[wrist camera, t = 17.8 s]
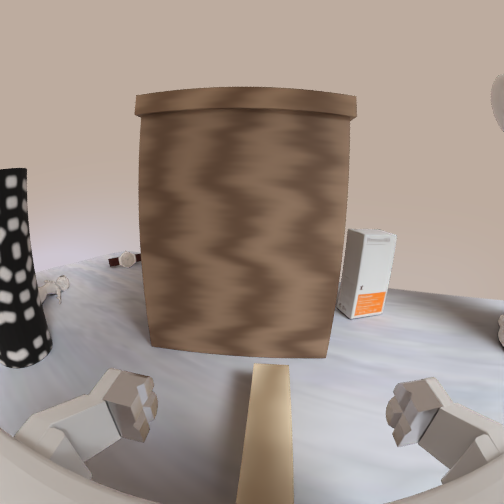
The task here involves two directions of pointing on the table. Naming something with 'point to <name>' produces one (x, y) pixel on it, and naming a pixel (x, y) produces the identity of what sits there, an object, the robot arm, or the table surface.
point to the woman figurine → (54, 288)
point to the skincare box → (366, 272)
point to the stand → (243, 217)
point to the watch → (125, 259)
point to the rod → (268, 439)
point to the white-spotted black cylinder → (18, 279)
